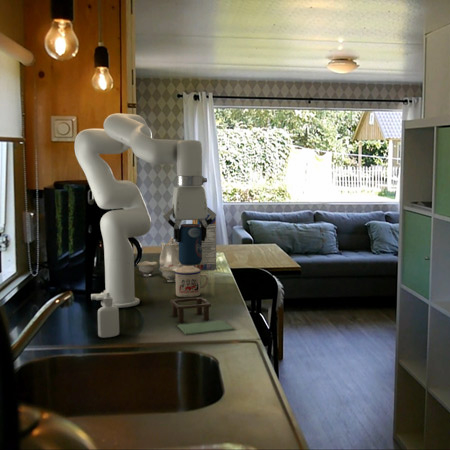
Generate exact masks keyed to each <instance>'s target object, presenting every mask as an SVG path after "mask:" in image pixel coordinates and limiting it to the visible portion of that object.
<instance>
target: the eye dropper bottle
mask: <svg viewBox="0 0 450 450" xmlns="http://www.w3.org/2000/svg"><path fill="white" fill-rule="evenodd" d="M103 305H104V306H101V307H100V308H98V310H97V336H98V337H99V338H102V339H108V338H112V337H116V336H117V337H118V336H119V335H120V312H119V308H117V307H116V306H112V305H113V302H112V297H110V295H109V293H106V297H105V298H103Z"/></svg>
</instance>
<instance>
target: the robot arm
mask: <svg viewBox="0 0 450 450" xmlns="http://www.w3.org/2000/svg"><path fill="white" fill-rule="evenodd" d="M129 149H131V151H132V152H133V155H134V156H136V157H137V158H138V159H140V160H142V161H144V162H146V163H148V164H152V165H158V166H159V165H160V166H163V165H170V166H171V165H176V186H174V187H173V192H172V200H171V201H172V202H171V208H170V209H169V210H167V211H166V212H165V213H164V214H163V215H162V217H163V219H164V220H165V221H166V222H167V224H169V226H171V227H172V229H173V239H174V240H175V241H176V243H179V242H180V226H181V224H182V221H192V220H199V222H200V223H201V227H200V228H201V230H202V241H205V238H206V228H207V227H208V225H209V224H210V223H211V222H212V220H213V219H214V218H215V217H216V218H217V213H216V212H215V211H213V210H212V209H211V208H210V207H209V206H208V200H207V198H208V197H207V192H206V187H205V186H204V184H205V183H207V182H208V178H207V177H204V176H203V144H202V142H201V141H200V140H196V139H195V140H194V139H185V140H183V139H182V140H181V139H169V138H168V139H167V138H166V139H165V138H161V139H160V138H153V135H152V129H151V128H150V127H149V125H148V124H147V121H146V120H145V118H144V117H143V116H141V115H139V114H134V113H121V112H120V113H119V112H117V113H112V114H109V115H108V116H107V117H106V118H105V119H104V121H103V128H85V129H83V130H80V131H79V132H78V133H77V134H76V136H75V139H74V149H73V150H74V154H75V158H76V161H77V162H78V164H79V166H80V168H81V170H82V172H84V175H85V177H86V180H87V183H88V185H89V188H90V191H91V193H92V196H93V198H94V201H95V203H96V204H97V206H98V207H99V208H100V209H102V210H109V211H107V212H106V213H104V214H103V215H102V217H100V221H99V226H100V232H101V236H102V241H103V254H104V255H103V257H104V284H105V285H104V286H105V287H104V288H105V289H104V290H103V291H102V292H100V293H91V294H90V299H91V301H95V300H96V301H100V306H101V307H103V306H104V305H103V298H105V297H106V293H109V295H110V297H112V302H113V305H112V306H116V307H117V308H118V309H120V308H121V309H123V308H130V307H135V306H137V305H139V304H140V302H141V300H140V298H138V297H136V291H135V290H136V289H135V287H136V285H135V253H134V248H133V246H132V244H131V242H130V241H129V238H135V237H141V236H144V235H147V234H148V233H149V232H150V230H151V227H152V220H151V215H150V213H149V209H148V208H147V204H146V202H145V199H144V198H143V195H142V192H141V190H140V189H139V187H138V185H137V184H136V183H134V182H133V181H131V180H128V179H127V180H126V179H125V180H124V179H123V180H122V179H121V180H119V179H116V177H115V176H114V174H113V170H112V168H111V167H110V165H109V164H108V162H106V161H105V160H104V159H103V158H102V157H101V156H100V155H119V154H123V153H125V152H126V151H128V150H129ZM208 213H209V214H210V216H209V218H208V219H207V220H206V221H205V218H207V214H208ZM171 217H172V218H173V219H174V220H172V219H171Z"/></svg>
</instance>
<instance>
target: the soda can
mask: <svg viewBox="0 0 450 450" xmlns="http://www.w3.org/2000/svg"><path fill="white" fill-rule="evenodd" d="M179 229H180V242H178V243H179V262H180V263H181V265H184V266H195V265H199V264H200V263H201V261H202V230H201V228H200V225H199V224H192V223H181V224H180V226H179Z"/></svg>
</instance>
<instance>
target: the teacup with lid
mask: <svg viewBox="0 0 450 450" xmlns="http://www.w3.org/2000/svg"><path fill="white" fill-rule="evenodd" d="M201 271H202V270H200V269H198V268H195V267H194V266H182V267H181V268H179V269H176V270H175V273H176V282H175V296H176V297H179V298H185V299H187V298H197V297H199V296H200V295H201V289H203V288H206V287H207V286H208V284H209V281H210V280H209V276H208V275H207V274H205V273H201ZM201 277H205V278H206V280H205V283H204V284H202V285H201Z"/></svg>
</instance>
